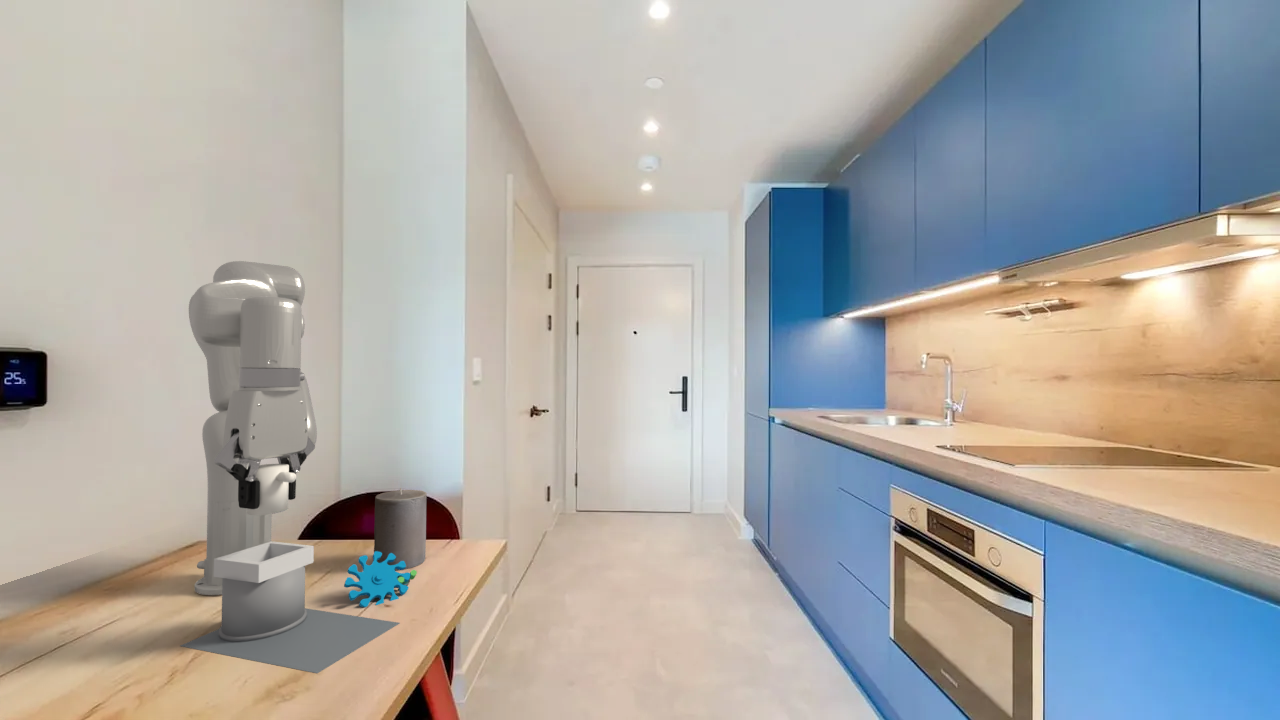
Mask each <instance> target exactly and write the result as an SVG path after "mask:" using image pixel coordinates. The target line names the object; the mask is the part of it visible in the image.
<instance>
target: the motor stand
mask: <svg viewBox="0 0 1280 720" xmlns="http://www.w3.org/2000/svg"><path fill="white" fill-rule="evenodd" d="M314 552H315V548H314V545H307V544H300V543H299V544H298V543H290V542H281V541H272V540H271V542H268V543H264V544H261V545H258V546H255V547H251V548H248V549H245V550H242V551H238V552H235V553H232V554H229V555H225V556H222V557H219V558H216V559H214V577H219V578H222V595H221V626H220V627H219V628H218V629H216V630H214V631H211V632H209V633H206V634H204V635H201V636H200V637H197V638H194V639H192V640H189V641H188V642H186V643H183V644H180V645H179V647H183V648H188V649H193V650H198V651H203V652H207V653H211V654H217V655H223V656H227V657H233V658H238V659H243V660H246V661H247V660H248V661H253V662H256V663H257V662H258V663H263V664H267V665H274V666H277V667H284V668H288V669H293V670H299V671H304V672H307V673H313V674H319V673H320V672H323V671H324V670H325V669H327V668H329V667H330V666H332V665H334V664H336V663H337V662H339V661H341V660H343V659H344V658H345V657H347V656H349V655H350V654H352V653H354V652H355V651H357V650H358V649H360V648H362V647H364V646H366V645H367V644H368V643H370V642H372V641H373V640H375V639H377V638H378V637H379V636H382V635H383V634H385V633H386V632H388V631H390V630H392V629H393V628H395V627H396V626H399V625H400V624H401V622H396V621H391V620H383V619H378V618H373V617H372V618H371V617H364V616H358V615H351V614H345V613H338V612H331V611H327V610H326V611H325V610H318V609H312V608H307V607H306V603H305V601H306V598H305V597H306V595H305V593H306V566H308V565H310V564H313V563H314V555H315V554H314Z"/></svg>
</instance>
